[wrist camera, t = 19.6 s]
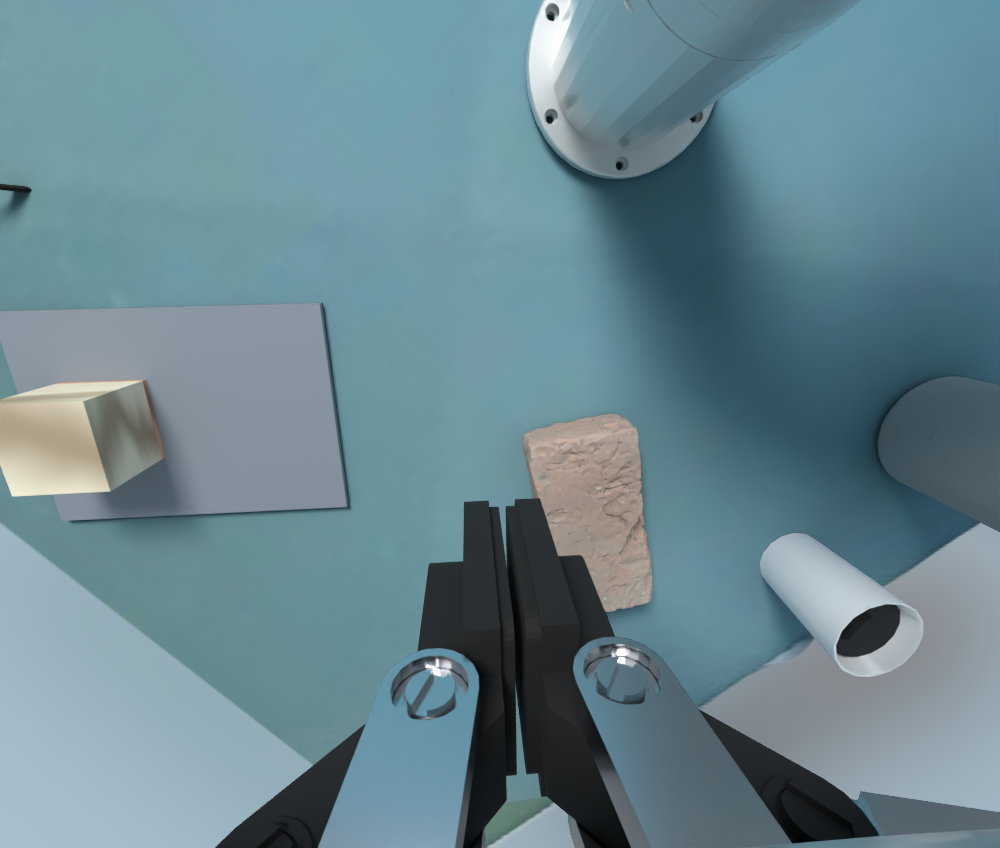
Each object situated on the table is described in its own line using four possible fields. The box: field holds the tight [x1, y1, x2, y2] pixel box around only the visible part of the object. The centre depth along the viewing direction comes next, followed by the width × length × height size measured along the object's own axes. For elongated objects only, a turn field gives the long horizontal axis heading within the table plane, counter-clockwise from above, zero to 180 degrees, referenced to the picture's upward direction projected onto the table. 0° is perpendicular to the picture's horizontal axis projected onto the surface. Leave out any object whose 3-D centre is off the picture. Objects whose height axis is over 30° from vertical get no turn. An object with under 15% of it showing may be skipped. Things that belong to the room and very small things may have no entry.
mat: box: [0, 303, 349, 521], centre depth 36 cm, size 16×22×1 cm
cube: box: [0, 380, 166, 496], centre depth 33 cm, size 6×6×6 cm
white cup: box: [759, 533, 923, 677], centre depth 39 cm, size 7×7×10 cm
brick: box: [523, 414, 653, 612], centre depth 39 cm, size 16×8×5 cm, turn 11°
